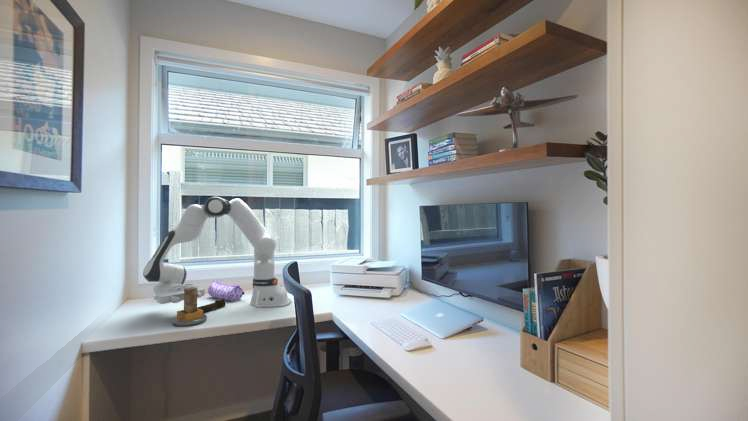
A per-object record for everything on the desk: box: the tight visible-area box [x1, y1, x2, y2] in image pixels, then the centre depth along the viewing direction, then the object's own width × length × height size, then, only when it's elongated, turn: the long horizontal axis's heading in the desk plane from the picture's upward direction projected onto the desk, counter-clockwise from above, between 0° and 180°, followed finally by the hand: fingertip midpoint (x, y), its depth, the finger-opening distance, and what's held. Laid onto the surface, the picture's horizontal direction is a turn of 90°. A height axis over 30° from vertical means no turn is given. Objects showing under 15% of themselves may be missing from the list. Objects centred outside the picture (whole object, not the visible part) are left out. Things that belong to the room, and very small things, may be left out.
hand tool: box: [197, 298, 226, 313], centre depth 169 cm, size 19×4×5 cm, turn 154°
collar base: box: [171, 308, 208, 328], centre depth 152 cm, size 14×14×5 cm
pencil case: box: [207, 280, 245, 303], centre depth 193 cm, size 22×9×10 cm, turn 64°
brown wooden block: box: [183, 287, 198, 313], centre depth 152 cm, size 4×4×14 cm
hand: (189, 297), depth 152 cm, fingers open, 8 cm apart
